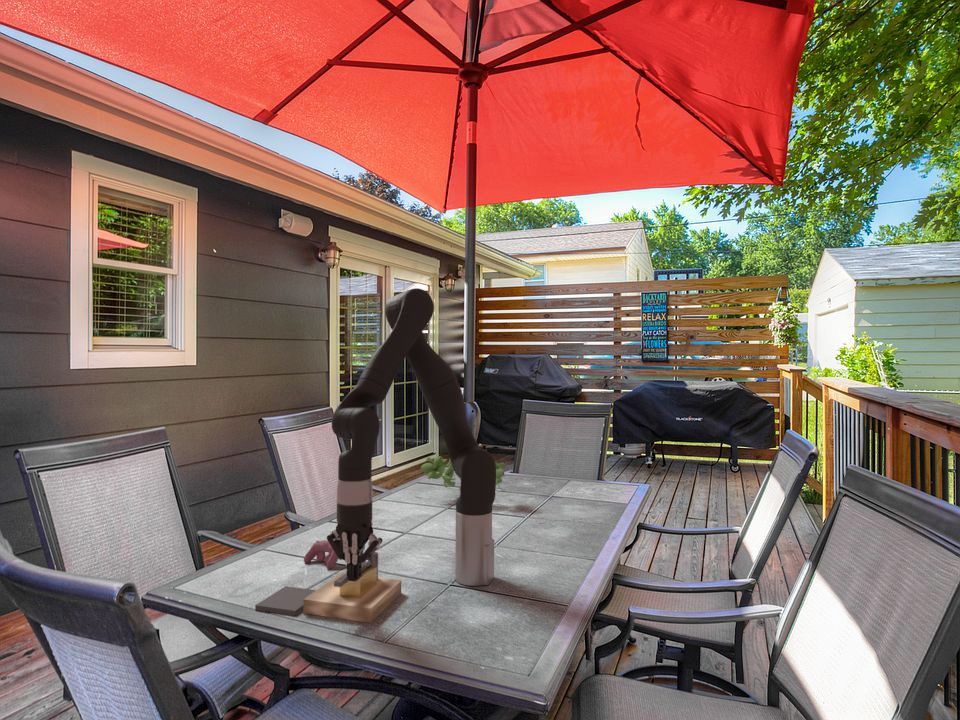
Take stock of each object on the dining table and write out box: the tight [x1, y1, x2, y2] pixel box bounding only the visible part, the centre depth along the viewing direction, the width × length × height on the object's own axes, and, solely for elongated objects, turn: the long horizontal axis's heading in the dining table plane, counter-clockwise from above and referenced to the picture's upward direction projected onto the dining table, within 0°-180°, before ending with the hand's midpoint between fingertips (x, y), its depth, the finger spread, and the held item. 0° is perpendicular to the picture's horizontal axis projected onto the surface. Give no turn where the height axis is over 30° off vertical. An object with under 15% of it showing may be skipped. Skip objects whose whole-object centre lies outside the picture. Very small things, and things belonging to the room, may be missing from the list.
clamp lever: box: [334, 551, 379, 587], centre depth 127 cm, size 18×3×6 cm, turn 164°
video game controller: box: [303, 539, 340, 570], centre depth 153 cm, size 10×5×7 cm, turn 60°
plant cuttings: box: [419, 455, 506, 500], centre depth 223 cm, size 35×17×22 cm
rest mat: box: [254, 585, 317, 616], centre depth 128 cm, size 10×11×1 cm
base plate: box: [302, 572, 402, 624], centre depth 128 cm, size 16×16×3 cm
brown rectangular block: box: [340, 566, 377, 598], centre depth 128 cm, size 5×8×4 cm, turn 164°
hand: (353, 579), depth 122 cm, fingers closed
